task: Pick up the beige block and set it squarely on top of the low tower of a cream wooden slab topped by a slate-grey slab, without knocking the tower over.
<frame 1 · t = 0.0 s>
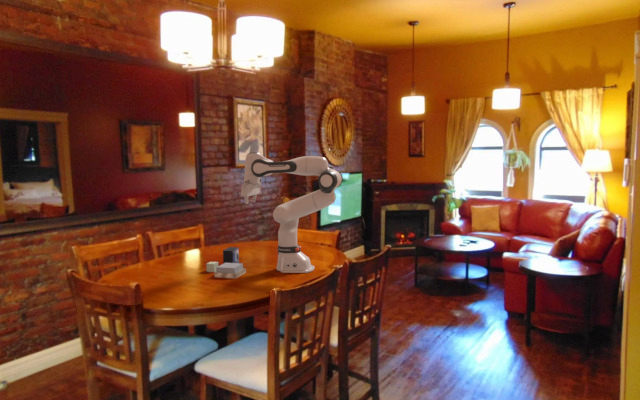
hand: (250, 202, 271), 39 cm above the table, tool pointing down, fingers open, 8 cm apart
top slab: (230, 270, 259), point 2 cm above the table, touching bottom slab
small box: (231, 265, 280), on the table
beige block: (212, 271, 268), on the table
bottom slab: (230, 275, 259), on the table, touching top slab
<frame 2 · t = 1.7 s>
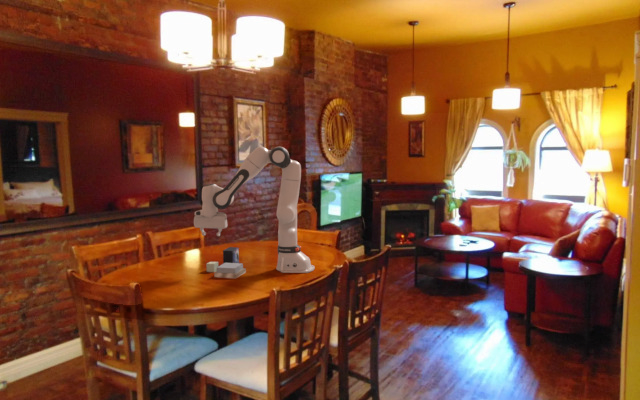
hand: (211, 235, 265), 21 cm above the table, tool pointing down, fingers open, 8 cm apart
nothing on the table moved.
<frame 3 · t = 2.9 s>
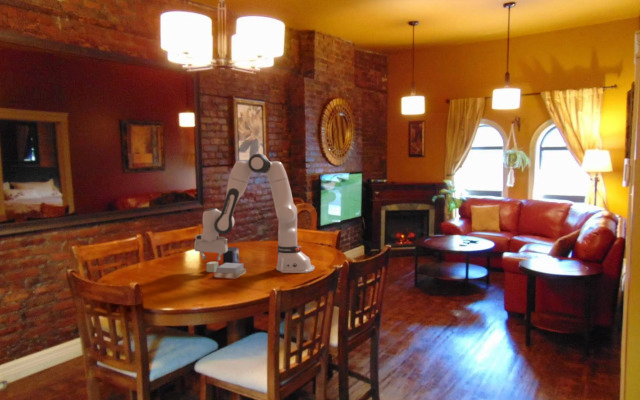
hand: (211, 259, 267), 7 cm above the table, tool pointing down, fingers open, 8 cm apart
nothing on the table moved.
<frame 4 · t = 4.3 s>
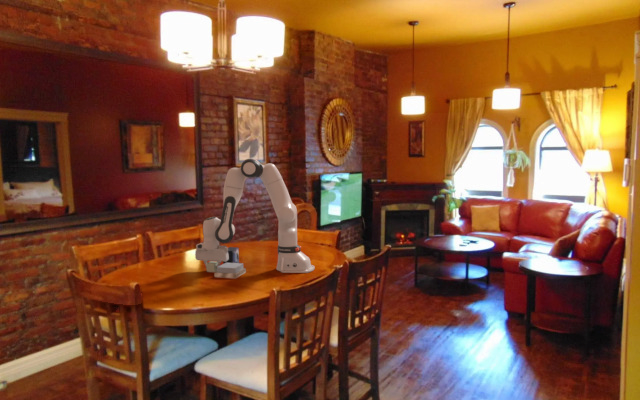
hand: (212, 268, 267), 2 cm above the table, tool pointing down, fingers closed on beige block, 5 cm apart
beige block: (212, 270, 267), on the table, touching gripper
everything else where it was.
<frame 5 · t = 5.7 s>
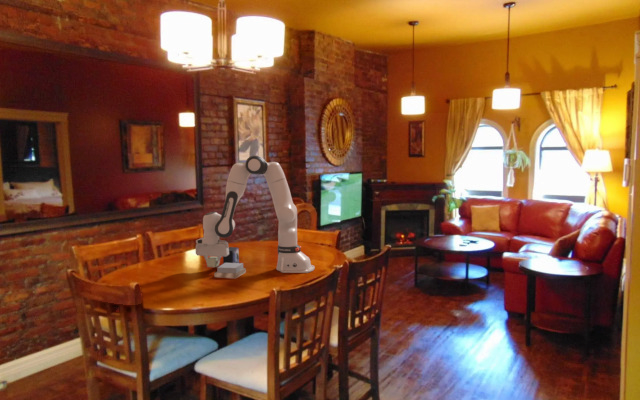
hand: (213, 263, 267), 5 cm above the table, tool pointing down, fingers closed on beige block, 5 cm apart
beige block: (213, 266, 267), point 3 cm above the table, touching gripper
everything else where it was.
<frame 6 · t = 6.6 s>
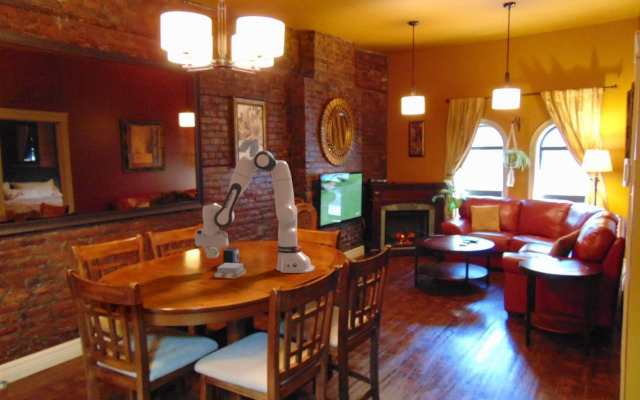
hand: (212, 254, 266), 10 cm above the table, tool pointing down, fingers closed on beige block, 5 cm apart
beige block: (212, 256, 267), point 8 cm above the table, touching gripper
everything else where it was.
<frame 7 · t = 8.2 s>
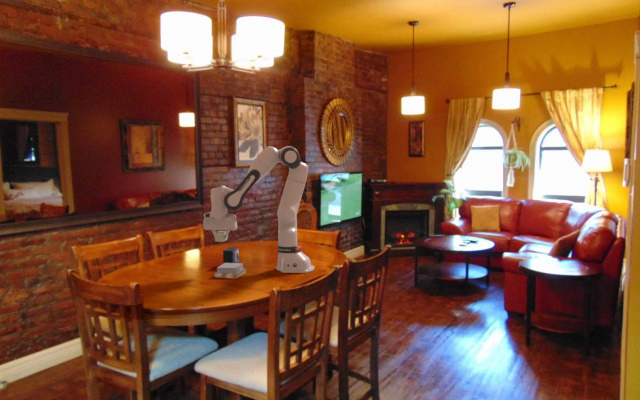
hand: (221, 237, 261), 20 cm above the table, tool pointing down, fingers closed on beige block, 5 cm apart
top slab: (230, 270, 259), point 2 cm above the table
beige block: (221, 240, 261), point 19 cm above the table, touching gripper
bottom slab: (230, 275, 259), on the table
everything else where it was.
when the fingers open (9 cm above the table, at t = 11.5 s): beige block drops 2 cm, resting on top slab.
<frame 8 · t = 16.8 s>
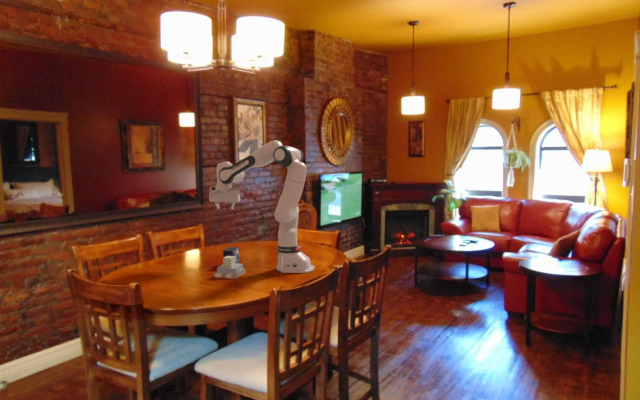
hand: (225, 209, 288), 33 cm above the table, tool pointing down, fingers open, 8 cm apart
top slab: (230, 270, 258), point 2 cm above the table, touching beige block
beige block: (229, 265, 258), point 5 cm above the table, touching top slab
everything else where it was.
at the end: beige block 0.3 cm off-centre on the top slab, point 3.0 cm above the top slab's base; top slab 0.2 cm off-centre on the bottom slab, point 3.0 cm above the bottom slab's base; beige block tilted 0° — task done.
